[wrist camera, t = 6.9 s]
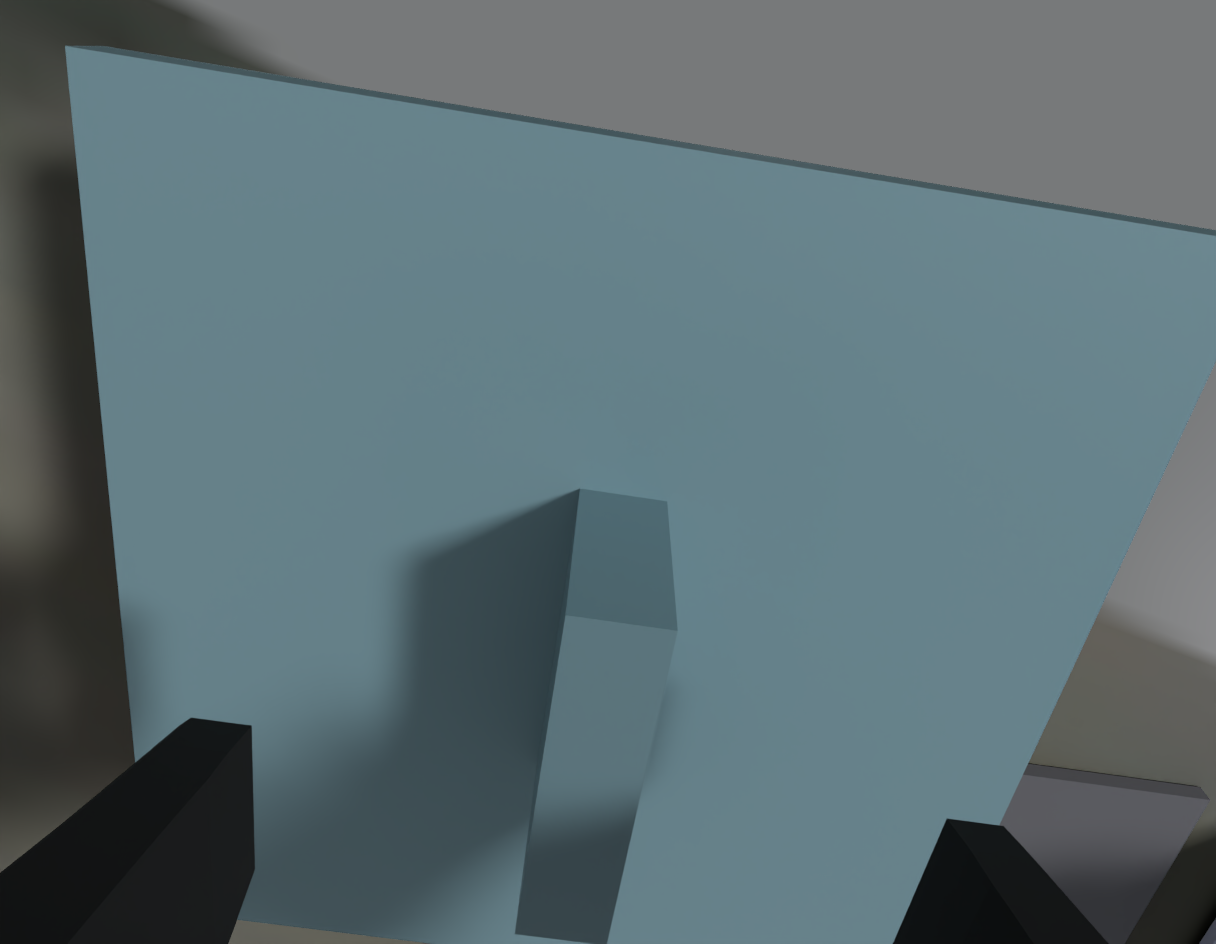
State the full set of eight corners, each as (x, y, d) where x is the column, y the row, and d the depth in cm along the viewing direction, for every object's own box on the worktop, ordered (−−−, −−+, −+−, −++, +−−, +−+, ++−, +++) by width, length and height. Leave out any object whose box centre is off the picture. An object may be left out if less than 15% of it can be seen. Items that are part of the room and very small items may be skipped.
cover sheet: (1229, 232, 11) (1491, 313, 8) (904, 963, 17) (972, 1190, 14) (103, 46, 11) (-148, 45, 7) (170, 870, 17) (50, 1085, 13)
